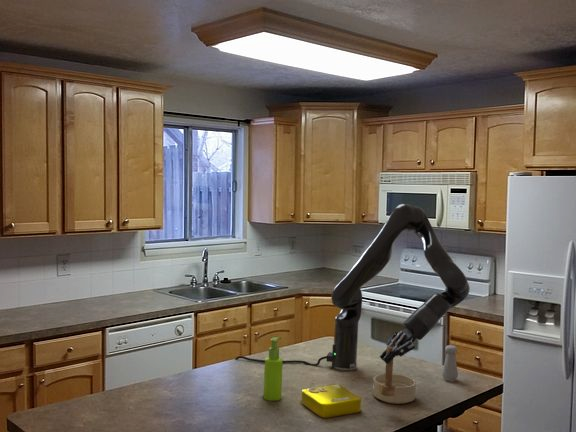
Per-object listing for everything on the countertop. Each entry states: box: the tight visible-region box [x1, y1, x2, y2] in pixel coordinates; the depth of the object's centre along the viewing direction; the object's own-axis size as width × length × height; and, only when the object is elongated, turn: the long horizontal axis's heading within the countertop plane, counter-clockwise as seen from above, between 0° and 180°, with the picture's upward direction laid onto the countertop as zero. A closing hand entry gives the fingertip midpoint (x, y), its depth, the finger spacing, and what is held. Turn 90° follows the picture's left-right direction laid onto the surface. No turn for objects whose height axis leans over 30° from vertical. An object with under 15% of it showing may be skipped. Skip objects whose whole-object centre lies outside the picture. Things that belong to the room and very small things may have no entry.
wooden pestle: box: [381, 346, 395, 396], centre depth 185 cm, size 4×4×15 cm
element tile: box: [301, 383, 362, 419], centre depth 189 cm, size 15×15×5 cm
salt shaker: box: [441, 344, 459, 383], centre depth 220 cm, size 6×6×13 cm
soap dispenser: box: [263, 336, 284, 402], centre depth 196 cm, size 6×7×20 cm
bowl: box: [372, 373, 417, 405], centre depth 200 cm, size 14×14×6 cm
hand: (383, 360), depth 185 cm, fingers closed on wooden pestle, 2 cm apart
